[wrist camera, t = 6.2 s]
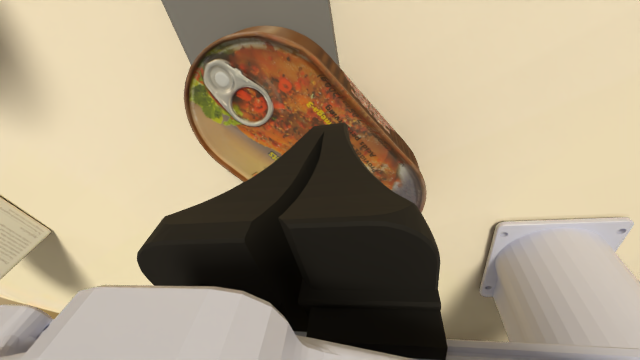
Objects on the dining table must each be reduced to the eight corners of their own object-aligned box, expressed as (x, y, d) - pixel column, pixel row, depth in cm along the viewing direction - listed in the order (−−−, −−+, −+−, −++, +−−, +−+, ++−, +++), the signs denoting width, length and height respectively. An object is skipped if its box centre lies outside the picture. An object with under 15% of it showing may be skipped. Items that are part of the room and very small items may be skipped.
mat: (360, 201, 21) (359, 206, 20) (261, 207, 23) (259, 212, 22) (310, -123, 11) (308, -126, 10) (139, -66, 13) (130, -67, 12)
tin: (455, 210, 16) (344, 266, 20) (440, 178, 19) (344, 234, 22) (250, -22, 10) (148, 120, 14) (269, -23, 13) (178, 98, 17)
